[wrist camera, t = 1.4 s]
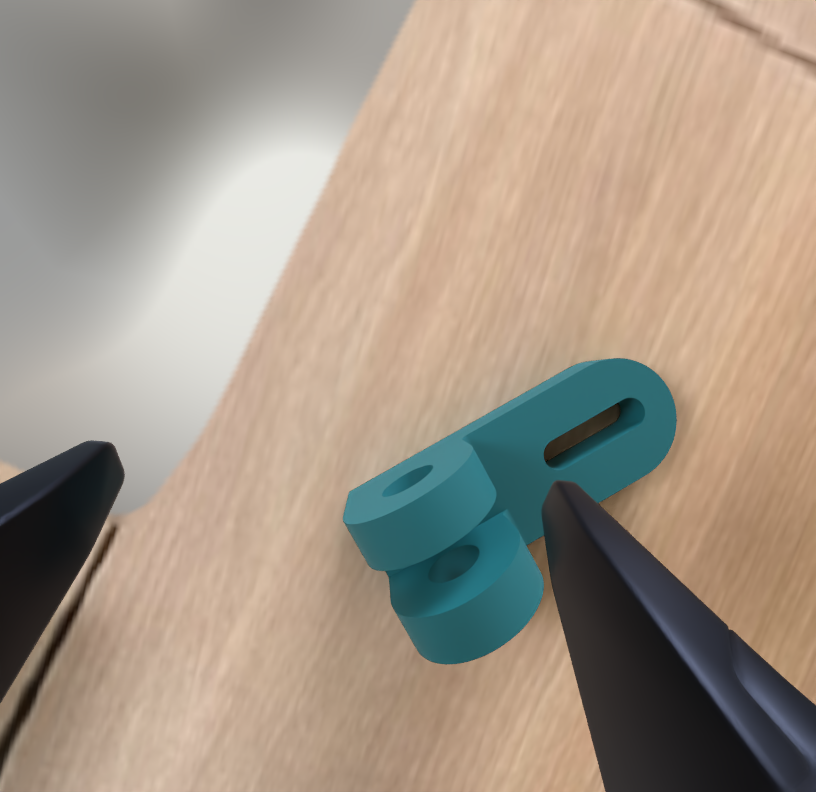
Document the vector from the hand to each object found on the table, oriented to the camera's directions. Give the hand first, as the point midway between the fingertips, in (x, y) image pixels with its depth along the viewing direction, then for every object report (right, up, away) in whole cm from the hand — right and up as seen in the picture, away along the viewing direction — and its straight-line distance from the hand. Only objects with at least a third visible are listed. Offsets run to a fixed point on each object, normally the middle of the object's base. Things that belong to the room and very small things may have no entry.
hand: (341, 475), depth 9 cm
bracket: (+7, -2, +16) cm, 18 cm away
